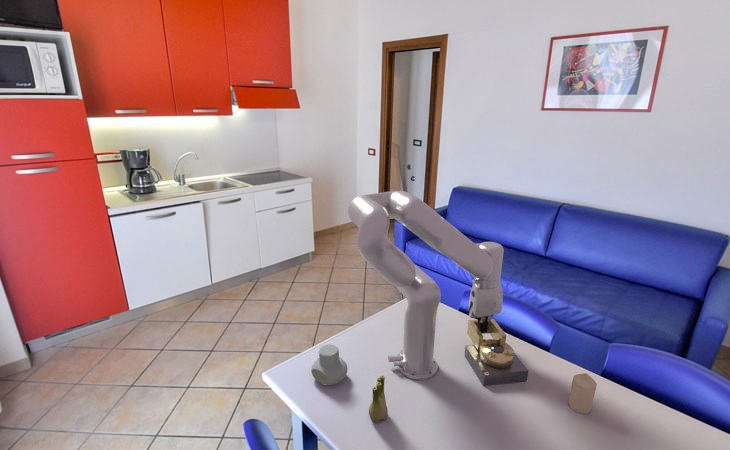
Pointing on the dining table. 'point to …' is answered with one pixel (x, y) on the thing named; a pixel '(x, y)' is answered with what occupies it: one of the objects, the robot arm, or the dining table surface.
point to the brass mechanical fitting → (491, 344)
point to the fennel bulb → (378, 402)
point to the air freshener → (329, 366)
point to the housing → (495, 369)
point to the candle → (582, 393)
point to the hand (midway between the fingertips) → (482, 330)
